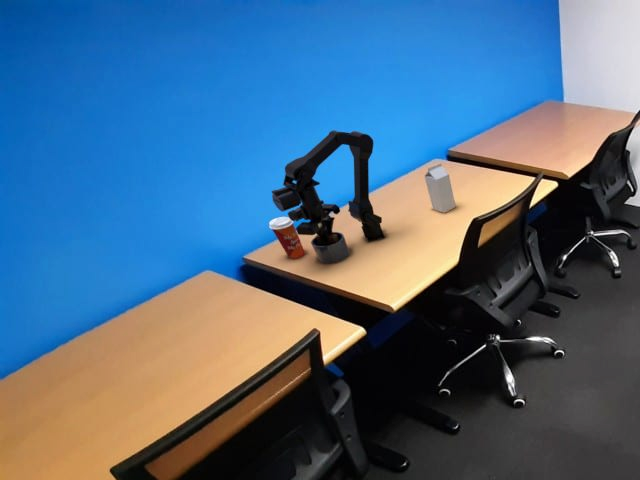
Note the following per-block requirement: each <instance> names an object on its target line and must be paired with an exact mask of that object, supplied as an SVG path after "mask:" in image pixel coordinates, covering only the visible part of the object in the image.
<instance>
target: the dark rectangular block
mask: <svg viewBox="0 0 640 480" xmlns="http://www.w3.org/2000/svg"><path fill="white" fill-rule="evenodd" d="M314 236H315V237H316V239H317V241H318V243H319V244H335V243H337V242H338V241H339V239H338V237H337V234H327V237H328V242H324V241H323V240H322V239H321V238H320V237H319V236H318V235H317V234H316V235H314ZM315 237H314V238H315Z"/></svg>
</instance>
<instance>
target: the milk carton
mask: <svg viewBox="0 0 640 480" xmlns="http://www.w3.org/2000/svg"><path fill="white" fill-rule="evenodd" d="M427 170H428V171H427V172H426V174H425V175H424V179H425V184H426V187H427V191H428V196H429V200H430V204H431V208H432V210H435V211H437V212H439V213H443V214H445V213H447V212H449V211H451V210H453V209H455V208H456V207H457V206H456V201H455V196H454V192H453V186H452V183H451V178H450V174H449V172H448V171H447V170H446V169H445V168H444V167H443V164H442V163H441V162H439V163H437V164H434V165H432V166H430V167H427Z"/></svg>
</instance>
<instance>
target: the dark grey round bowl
mask: <svg viewBox="0 0 640 480" xmlns="http://www.w3.org/2000/svg"><path fill="white" fill-rule="evenodd" d="M332 234H337V237H338V239H339V241H338V242H337V243H335V244H319V243H318V241H317V239H316V237H313V238H312V239H311V241H310V244H311V246H312V248H313V251H314V253H315V255H316V257H317V259H318V261H319V262H320V263H323V264H335V263H339V262H342V261H344V260H346V259H347V258H348V257H350V255H351V250H350V248H349V245H348V243H347V241H346V238H345V236H344V234H343V233H342V232H338V231H332Z"/></svg>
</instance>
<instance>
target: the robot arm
mask: <svg viewBox="0 0 640 480" xmlns="http://www.w3.org/2000/svg"><path fill="white" fill-rule="evenodd" d="M343 145H345V146H348V147H349V148H348V149H349V150H350V152H351V155H352V157H353V183H354V184H353V185H354V187H353V189H354V197H353V198H352V200H348V201H347V202H348V212H349V214H350V216H351V217H352V218H353V219H355V220H356V221H358V222H360V223H361V231H362V232H363V235H364V238H365V239H366V240H367V242H371V241H375V240H379V239H384V238H385V236H386V235H385V234H384V231H383V228H382V226H381V224H382V222H383V218H382V217H381V216H379V215H378V214H375V212H374V207H373V205H372V203H371V200H370V183H369V181H370V178H369V177H370V176H369V175H370V174H369V173H370V172H369V171H370V169H369V167H370V166H369V160H370V157H372V154H373V152H374V151H373V150H374V145H375V144H374V139H373V138H372V137H371V136H370V134H368V133H363V132H360V131H357V130H352V131H351V132H345V131H338V130H331V131H329V132H328V134H327V135H326V136H325V137H324V138H323V139H321V141H320V142H318V143H317V144H316V145H315V146H314V147H313V148H311V150H310V151H308V152H307V153H306V154H305V155H302V156H301V157H298V158H295V159H294V160H291V161H290V162H288V163H287V164H286V165H285V166H284V174H285V175H284V179H283V184H282V185H283V186H284V187H281V188H278V189H274V190H271V194H272V195H271V198H272V202H273V204H274V205H275V207H276V208H277V209H278V210H279V211H280V212H282V213H283V212H286V211H288V210H289V211H288V212H287V215H288V216H287V217H289V218H290V219H291V220H292V221H293V222H299V221H300V220H304V221H302V222H300V224H298V225H297V226H296V227H295V229H296V232H297V234H298V236H317V235H318V236H319V237H320V238H321V239H322V240H323V241H324V242H328V237H327V234H332V232H333V228H334V222H335V219H336V218H335V217H334V216H331V215H330V214H331V213H332V212H333V214H334V215H338V214H339V213H340V212H341V209H340V207H339V205H337V204H335V203H333V204H332V203H325V201H324V200H323V199H322V200H321V199H320V197H319V195H318V192H317V190H316V186H319V185H320V184H321V182H320V181H318V180H315V179H314V177H315V176H316V173H317V171H318V170H317V169H318V168H319V166H320V165H321V164H323V163H324V162H325V161H326V160H327V159H328V158H329V157H330V156H331V155H333V154H334V153H335V152H336V151H337V150H338V149H339V148H340V147H341V146H343ZM296 207H297V208H296ZM294 208H295V209H294ZM291 209H292V210H291ZM308 221H309V222H308Z"/></svg>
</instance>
